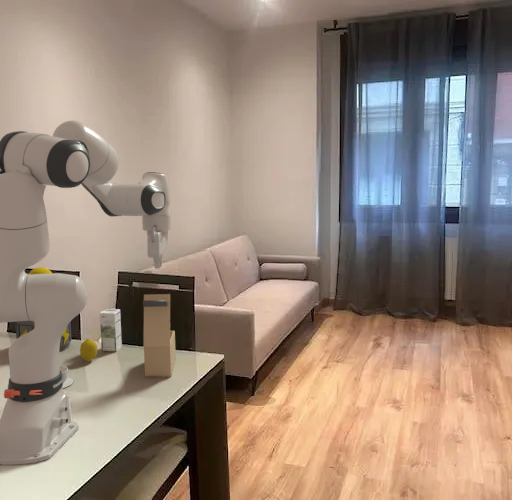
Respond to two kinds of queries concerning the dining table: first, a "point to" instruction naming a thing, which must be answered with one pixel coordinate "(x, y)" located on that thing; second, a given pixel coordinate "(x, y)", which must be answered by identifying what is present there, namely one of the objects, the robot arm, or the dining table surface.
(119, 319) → the syrup box
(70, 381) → the teacup
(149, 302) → the lid flap
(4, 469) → the dining table surface
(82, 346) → the lemon
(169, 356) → the carton
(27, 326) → the decorative lamp
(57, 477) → the dining table surface
